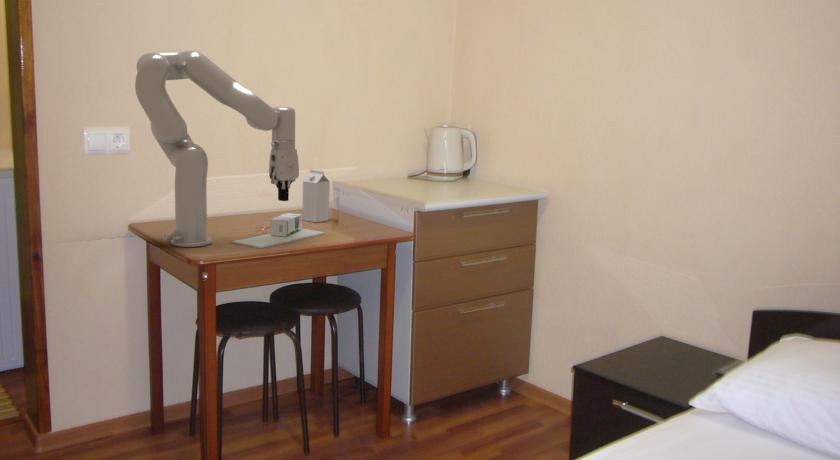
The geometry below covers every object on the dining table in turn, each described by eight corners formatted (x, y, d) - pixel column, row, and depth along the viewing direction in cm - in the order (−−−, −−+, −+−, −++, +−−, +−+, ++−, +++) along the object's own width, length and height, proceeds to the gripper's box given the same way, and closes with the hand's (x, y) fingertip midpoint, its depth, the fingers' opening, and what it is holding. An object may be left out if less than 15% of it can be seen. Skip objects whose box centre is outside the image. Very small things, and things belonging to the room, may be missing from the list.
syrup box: (285, 220, 256) (303, 213, 270) (269, 218, 258) (287, 212, 272) (285, 237, 257) (303, 229, 271) (269, 235, 259) (287, 228, 273)
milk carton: (315, 218, 298) (316, 169, 295) (329, 220, 294) (330, 171, 291) (302, 220, 293) (303, 170, 289) (316, 222, 288) (316, 172, 285)
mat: (260, 248, 242) (260, 246, 242) (232, 243, 248) (232, 241, 248) (325, 234, 269) (325, 232, 268) (298, 229, 275) (298, 227, 275)
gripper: (276, 147, 245) (276, 204, 248) (307, 144, 257) (306, 199, 261) (258, 145, 249) (259, 201, 252) (290, 143, 261) (289, 196, 265)
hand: (283, 200), depth 257 cm, fingers closed
